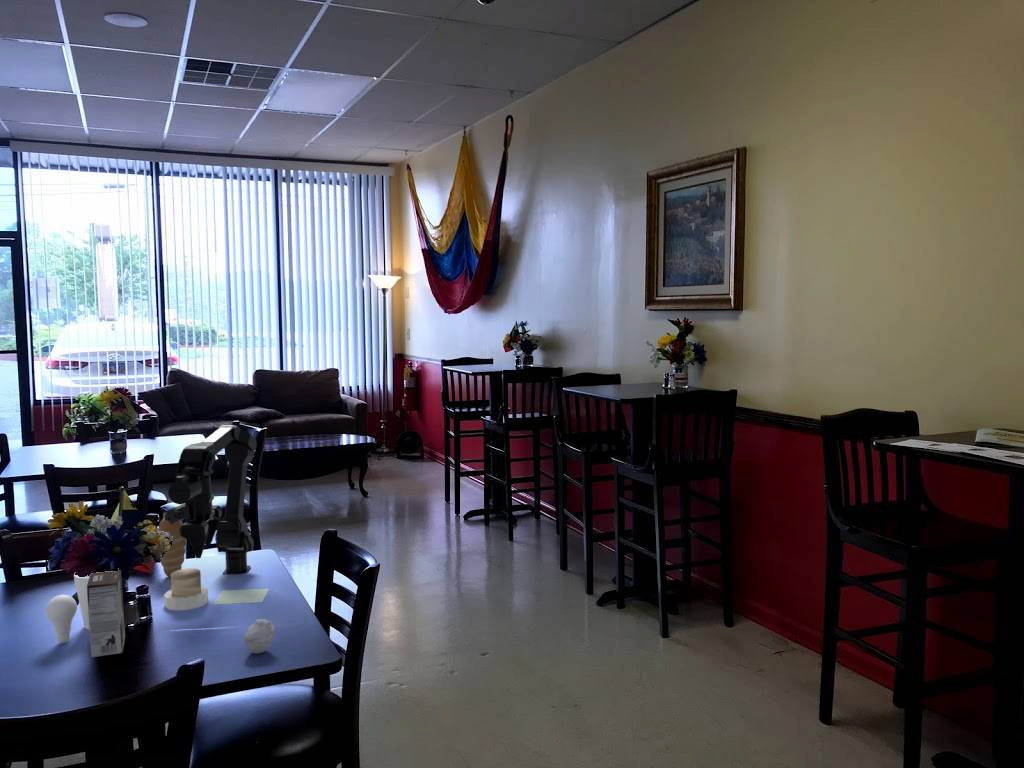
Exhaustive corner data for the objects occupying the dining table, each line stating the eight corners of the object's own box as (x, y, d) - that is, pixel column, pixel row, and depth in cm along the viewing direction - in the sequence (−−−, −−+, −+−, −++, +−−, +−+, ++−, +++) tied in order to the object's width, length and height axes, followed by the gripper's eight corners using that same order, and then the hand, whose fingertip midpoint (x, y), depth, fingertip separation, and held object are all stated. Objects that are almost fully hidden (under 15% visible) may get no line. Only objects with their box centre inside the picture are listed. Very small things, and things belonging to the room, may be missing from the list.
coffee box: (94, 642, 182) (90, 572, 180) (125, 637, 184) (122, 568, 183) (89, 658, 173) (85, 585, 172) (122, 653, 176) (118, 581, 174)
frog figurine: (281, 648, 178) (280, 617, 177) (259, 660, 171) (258, 629, 171) (260, 643, 180) (258, 613, 180) (237, 656, 174) (236, 624, 173)
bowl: (172, 598, 209) (171, 586, 209) (212, 596, 210) (211, 584, 210) (160, 612, 199) (159, 600, 199) (202, 610, 200) (201, 598, 200)
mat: (222, 592, 213) (222, 590, 213) (269, 589, 215) (269, 588, 215) (213, 605, 204) (213, 604, 203) (262, 603, 205) (262, 602, 205)
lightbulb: (83, 642, 182) (80, 595, 181) (53, 651, 177) (50, 602, 176) (73, 635, 186) (70, 588, 185) (44, 643, 181) (41, 595, 180)
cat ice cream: (195, 574, 228) (192, 512, 226) (173, 583, 221) (170, 518, 219) (172, 570, 232) (169, 509, 230) (149, 578, 224) (146, 515, 223)
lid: (176, 588, 207) (175, 569, 207) (204, 586, 208) (203, 567, 208) (167, 597, 201) (166, 578, 200) (197, 596, 201) (196, 576, 201)
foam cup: (108, 632, 187) (105, 578, 186) (69, 632, 187) (65, 578, 186) (128, 617, 196) (125, 565, 195) (91, 617, 197) (88, 565, 195)
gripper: (178, 486, 217) (181, 542, 219) (155, 504, 198) (159, 566, 200) (221, 484, 218) (224, 540, 220) (202, 503, 200) (206, 563, 202)
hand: (203, 552), depth 210 cm, fingers open, 9 cm apart
